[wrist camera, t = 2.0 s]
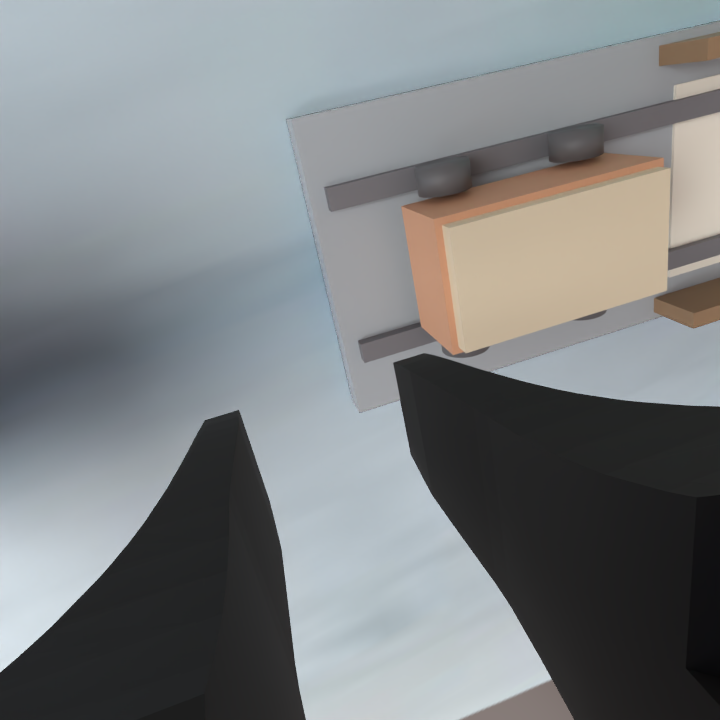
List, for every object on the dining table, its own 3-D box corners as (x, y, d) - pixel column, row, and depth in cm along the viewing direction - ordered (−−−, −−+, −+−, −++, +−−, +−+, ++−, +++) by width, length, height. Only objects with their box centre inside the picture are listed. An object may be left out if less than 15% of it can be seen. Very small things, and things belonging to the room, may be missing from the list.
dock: (286, 119, 18) (304, 119, 15) (855, -11, 21) (953, -30, 18) (352, 401, 22) (375, 440, 19) (817, 254, 25) (891, 270, 23)
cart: (390, 171, 17) (435, 182, 14) (596, 119, 19) (678, 120, 15) (421, 349, 20) (464, 392, 17) (600, 294, 21) (671, 325, 18)
